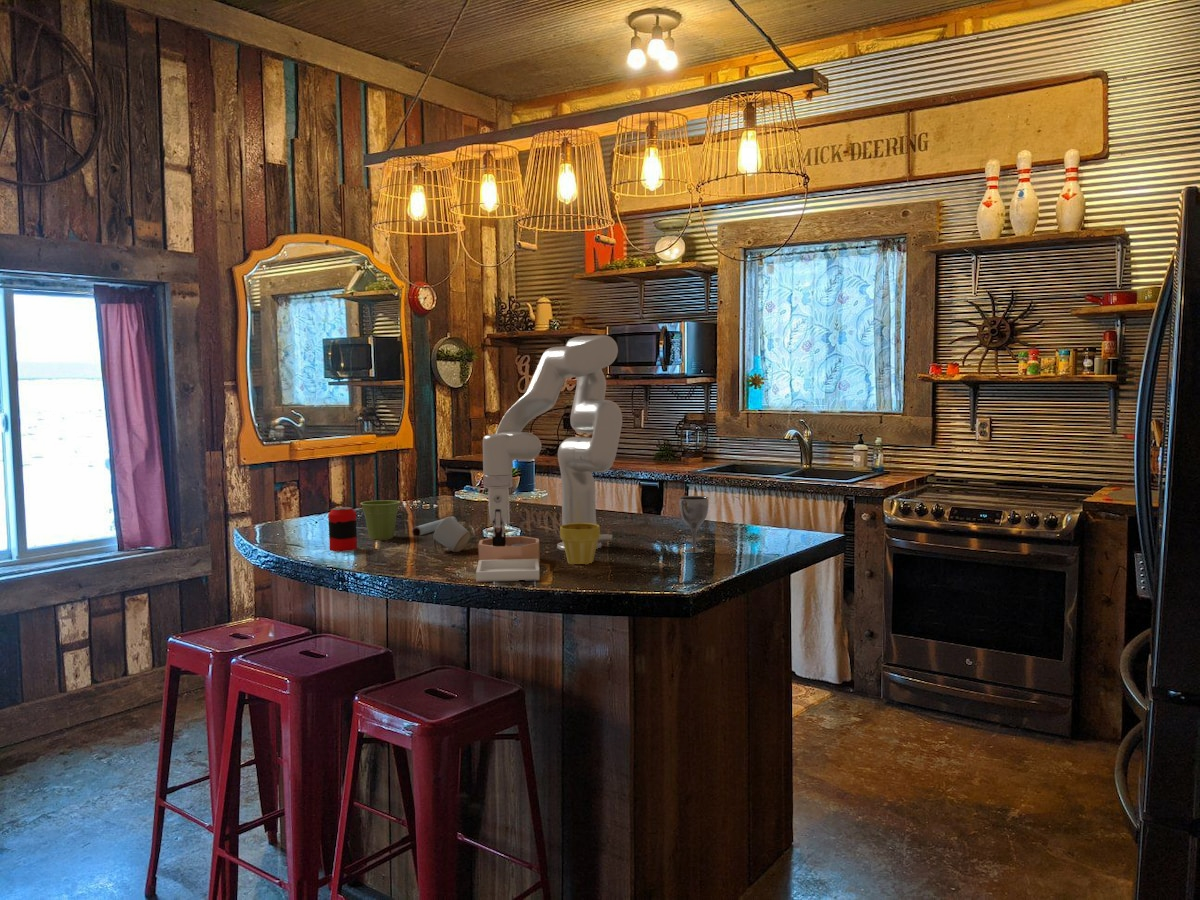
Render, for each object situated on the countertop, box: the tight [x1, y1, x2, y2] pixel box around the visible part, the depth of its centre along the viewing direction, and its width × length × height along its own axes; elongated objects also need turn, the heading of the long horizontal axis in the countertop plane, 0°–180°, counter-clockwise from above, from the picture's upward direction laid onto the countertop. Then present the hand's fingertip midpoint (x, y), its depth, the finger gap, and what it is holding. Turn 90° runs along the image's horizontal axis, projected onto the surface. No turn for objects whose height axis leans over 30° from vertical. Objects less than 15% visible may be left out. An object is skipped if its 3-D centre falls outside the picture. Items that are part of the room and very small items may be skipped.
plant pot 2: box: [559, 523, 601, 565], centre depth 245 cm, size 10×10×10 cm
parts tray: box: [475, 559, 540, 583], centre depth 231 cm, size 15×15×2 cm
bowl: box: [477, 535, 541, 564], centre depth 247 cm, size 16×16×6 cm
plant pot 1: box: [359, 499, 401, 541], centre depth 286 cm, size 12×12×11 cm
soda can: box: [328, 506, 358, 552], centre depth 268 cm, size 8×8×12 cm
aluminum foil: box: [411, 515, 458, 536], centre depth 302 cm, size 23×7×3 cm, turn 159°
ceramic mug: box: [432, 516, 471, 553], centre depth 264 cm, size 11×8×8 cm
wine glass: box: [678, 495, 710, 553], centre depth 258 cm, size 8×8×15 cm
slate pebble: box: [511, 543, 527, 546], centre depth 248 cm, size 4×4×4 cm
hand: (499, 549), depth 247 cm, fingers open, 5 cm apart
